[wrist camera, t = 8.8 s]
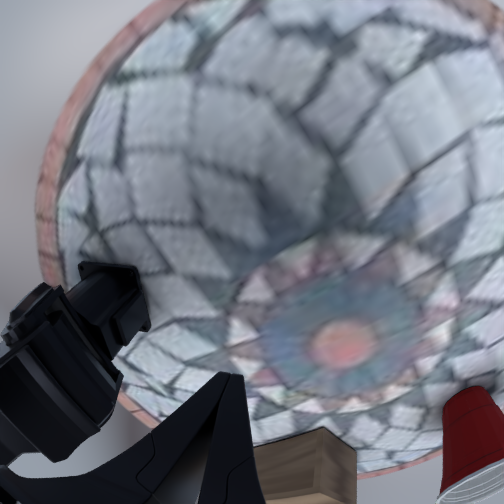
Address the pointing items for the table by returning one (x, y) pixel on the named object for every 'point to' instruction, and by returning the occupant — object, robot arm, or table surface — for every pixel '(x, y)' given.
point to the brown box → (308, 470)
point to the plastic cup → (472, 448)
